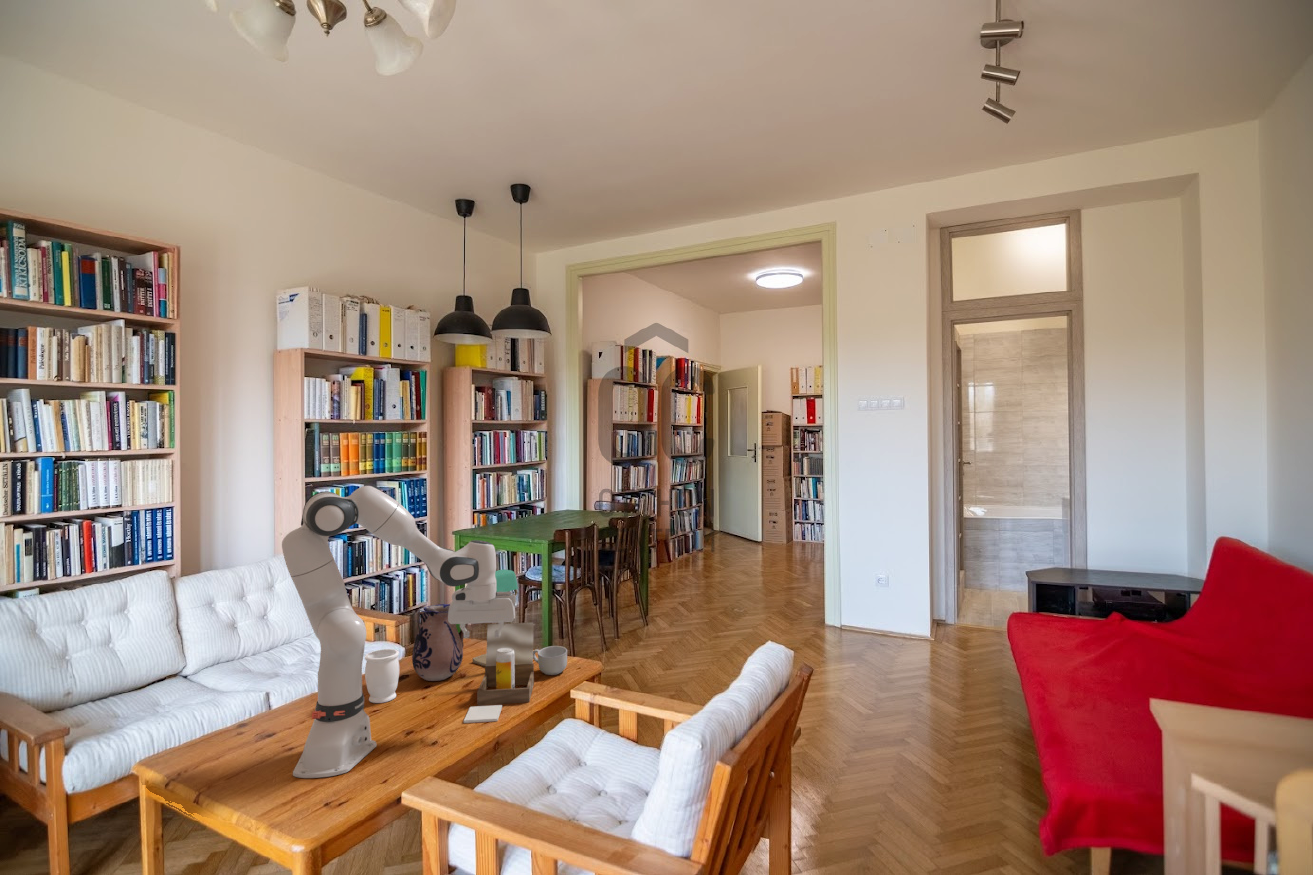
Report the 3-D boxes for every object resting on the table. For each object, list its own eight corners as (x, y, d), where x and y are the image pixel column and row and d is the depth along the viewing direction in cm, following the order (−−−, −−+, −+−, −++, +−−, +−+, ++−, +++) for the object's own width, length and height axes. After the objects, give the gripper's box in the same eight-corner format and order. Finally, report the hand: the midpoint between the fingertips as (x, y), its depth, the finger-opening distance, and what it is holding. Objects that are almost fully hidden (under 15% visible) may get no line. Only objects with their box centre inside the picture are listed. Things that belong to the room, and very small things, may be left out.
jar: (405, 692, 215) (404, 648, 215) (389, 705, 205) (389, 659, 205) (376, 692, 216) (375, 648, 216) (358, 704, 206) (358, 658, 206)
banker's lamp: (497, 676, 229) (495, 579, 229) (462, 664, 241) (460, 573, 242) (530, 663, 241) (528, 572, 242) (495, 653, 254) (494, 566, 254)
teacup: (573, 670, 233) (573, 648, 234) (553, 679, 224) (553, 657, 224) (545, 663, 241) (545, 642, 241) (525, 672, 232) (525, 651, 232)
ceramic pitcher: (402, 679, 227) (401, 610, 227) (451, 662, 244) (450, 597, 245) (432, 689, 217) (431, 617, 217) (481, 671, 234) (480, 603, 235)
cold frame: (529, 702, 205) (528, 639, 205) (477, 705, 204) (476, 642, 204) (535, 678, 226) (534, 621, 226) (487, 681, 224) (487, 624, 224)
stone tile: (497, 721, 192) (497, 718, 192) (463, 723, 191) (463, 720, 191) (502, 707, 201) (502, 704, 201) (470, 709, 200) (470, 706, 200)
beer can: (499, 691, 215) (499, 646, 215) (517, 691, 214) (516, 647, 215) (493, 698, 209) (493, 652, 209) (511, 698, 208) (511, 652, 209)
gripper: (517, 589, 201) (517, 632, 200) (451, 591, 198) (451, 635, 198) (514, 593, 194) (514, 638, 194) (446, 595, 192) (446, 641, 192)
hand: (482, 636), depth 196 cm, fingers open, 8 cm apart
